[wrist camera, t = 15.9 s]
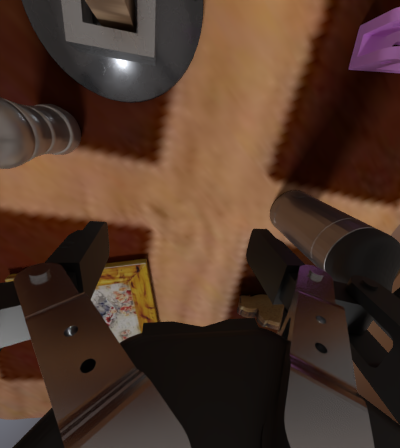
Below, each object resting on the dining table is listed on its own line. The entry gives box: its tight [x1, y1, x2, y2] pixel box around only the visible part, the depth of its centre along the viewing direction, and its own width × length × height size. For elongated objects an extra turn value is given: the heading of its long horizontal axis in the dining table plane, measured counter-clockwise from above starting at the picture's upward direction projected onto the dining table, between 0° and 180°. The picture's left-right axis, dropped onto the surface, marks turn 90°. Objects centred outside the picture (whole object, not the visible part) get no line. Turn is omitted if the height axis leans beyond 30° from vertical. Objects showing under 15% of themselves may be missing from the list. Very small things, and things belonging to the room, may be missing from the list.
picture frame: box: [5, 259, 158, 343], centre depth 49 cm, size 27×2×30 cm
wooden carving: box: [237, 294, 284, 330], centre depth 51 cm, size 16×5×10 cm, turn 82°
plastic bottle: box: [0, 97, 81, 169], centre depth 23 cm, size 6×7×20 cm
